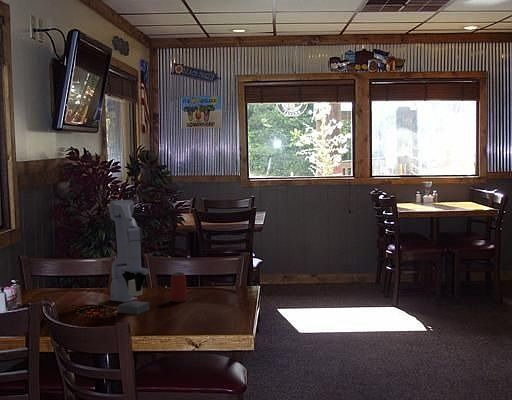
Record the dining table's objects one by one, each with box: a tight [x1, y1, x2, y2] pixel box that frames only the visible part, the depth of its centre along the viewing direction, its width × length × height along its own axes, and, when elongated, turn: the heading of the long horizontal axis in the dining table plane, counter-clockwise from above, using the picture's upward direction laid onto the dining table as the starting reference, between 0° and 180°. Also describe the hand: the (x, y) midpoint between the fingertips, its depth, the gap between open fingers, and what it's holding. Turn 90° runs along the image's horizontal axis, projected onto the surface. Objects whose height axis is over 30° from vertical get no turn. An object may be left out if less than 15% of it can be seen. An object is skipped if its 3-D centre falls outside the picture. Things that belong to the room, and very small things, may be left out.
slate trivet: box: [117, 300, 151, 315], centre depth 278 cm, size 9×9×3 cm
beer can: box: [170, 272, 187, 303], centre depth 296 cm, size 7×7×12 cm
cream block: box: [128, 279, 143, 297], centre depth 278 cm, size 4×4×6 cm
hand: (134, 290), depth 278 cm, fingers closed on cream block, 4 cm apart
